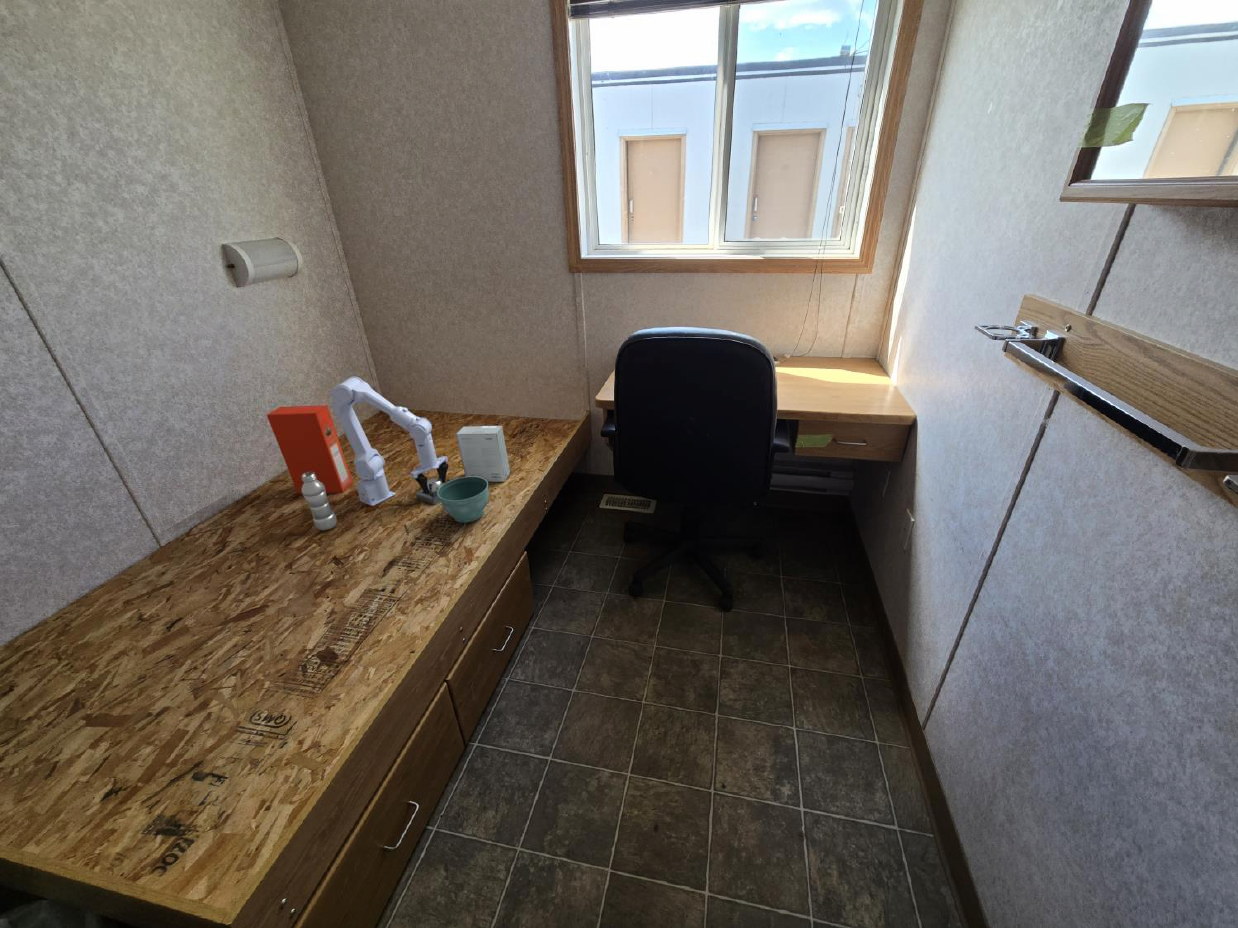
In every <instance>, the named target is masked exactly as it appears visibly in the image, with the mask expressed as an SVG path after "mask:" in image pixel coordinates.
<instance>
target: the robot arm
mask: <svg viewBox="0 0 1238 928" xmlns="http://www.w3.org/2000/svg"><path fill="white" fill-rule="evenodd" d="M330 395H331V397H332V402H331V403H332V409H333V412H334V414H335V415H336V418H337V420H338V422H339V424H340V425H341V426H340V427H342V430H343V432H344V434H345V436H346V438H347V441H348V443H350V446H351V448H352V450H353V452H354V454H355V456H354V457H355V458H354V461H353V463H354V466H355V474H356V476H357V477H358V478H359V479H360V480H359V481H357V483H356V484H355V485H356V489H357V492H358V493H357V494H358V496H359V502H360V503H361V502H362V503H364V504H366V505H369V506H372V507H374V506H376V505H379V504H381V502H384V501H386V500H388V499H389V498H391V497H393V496H395V495H396V492H393V491H390V489H389V484H388V482H387V478H386V475H385V472H384V467H385V465H386V461H385V458H384V457H383V456H382V455H381V454H380V453H379V452H378V450H377V449H376V448H372V446H371V444H370V441H369V439H368V438H367V436H366V433H365V431H364V429H363V427H362V425H361V422H360V421H359V419H358V417H357V414H356V412H355V410H354V408H353V406H354V404H359V403H368V404H370V405H372V406H373V407H375V408H377V409H378V410H380V411H382V412H384V413H385V414H387V415H389V419H390V420H391V421H392V422H393V423H395V424H396V425H398V426H399V427H401V428H402V429H405V431H407V432H409V433H408V435H409V436H410V438H411V439H413V441H414V445H415V448H416V453H417V456H418V461H419V464H420V465H418V466H417V467H416V468H415V469H414V470H412V471H411V472H410V477H411V478H413V479H414V480H415V481H416V482H417V483H418V485H419V486H420V488H421V490H423V492H426V493H428V492H429V489H428V485H427V481H428V476H426V475H425V473H426V472H429V471H432V470H436V472H437V475H438V478H440V479H441V481H442V483H444V484H445V483H447V481H446V480H447V472H448V471H449V470H448V469H449V467H450V466H449V464H448V462H449V460H448V456H445V455H443V456H440V457H437V454H436V450H435V444H434V441H433V437H432V433H431V431H432V429H433V425H432V423H431V421H430V420H428V419H427V417H420V416H417V415H415V414H413V413H412V412H411V411H409V409H408V408H407V407H403V406H395V405H394V404H393V403H391V402H390V401H389V400H387V399H386V398H384V397H383V396H382V395H381V394H379V393H378V392H376V391H375V390H373V389H372V387H371V386H370V385H369V383H368V382H366V381H364V380H362V378H360V377H358V376H350V377H349V378H347V379H346V380H344V381H343V382H341V383H340V384H337V385H335V386H334V388H333V389H332V390H331V392H330Z"/></svg>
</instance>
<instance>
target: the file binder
mask: <svg viewBox="0 0 1238 928" xmlns="http://www.w3.org/2000/svg"><path fill="white" fill-rule="evenodd" d="M266 416H267V417H266V418H267V420H268V422H269V425H270V427H271V429H272V432H273V435H274V437H275V440H276V442H277V445H278V447H279V450H280V452H281V456H282V457H283V459H284V462H285V465H286V467H287V470H288V473H289V475H290V477H291V480H292V482H293V484H294V487H295V490H296V491H297V494H299V495H300V494H302V486H303V484H304V482H303V480H302V474H304V473H307V472H314V473H315V476H316V480H318V481H320V482H321V483H322V484H323V485H324V486H325V491H326V494H329V493H330V494H334V493H344V492H345V491H346V490H347V489H348V488H349V487H351V485H353V482H354V481H353V477H352V474H351V472H350V469H349V466H348V463H347V459H346V457H345V454H344V451H343V447H342V444H341V442H340V439H339V436H338V433H337V430H336V427H335V424H334V421H333V418H332V415H331V412H330V409H329V406H328V405H327V404H325V405H321V404H320V405H300V406H299V405H298V406H295V405H294V406H293V405H292V406H279V407H278V408H275V409H274V410H273V411H271V412H269V413H267V414H266ZM302 495H303V494H302Z"/></svg>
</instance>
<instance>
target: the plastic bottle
mask: <svg viewBox="0 0 1238 928" xmlns="http://www.w3.org/2000/svg"><path fill="white" fill-rule="evenodd" d="M302 480H303V482H304V484H303V486H302V495H303V497H304V499H305V500H306V503H307V505H308V506H309V509H310V512H311V514H312V520H313V525H314V526H315V528H316V529H317V530H319V531H327V530H330V529H332V528H334V527H336V525H337V522H338V519H337V516H336V514H335V513H334V512H333V509H332V508H331V505H330V504H329V501H328V497H327V493H326V491H325V486H324V485H323V484H322V483H321V482H320V481H318V480H316V476H315V473H314V472H307V473H304V474H302Z"/></svg>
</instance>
